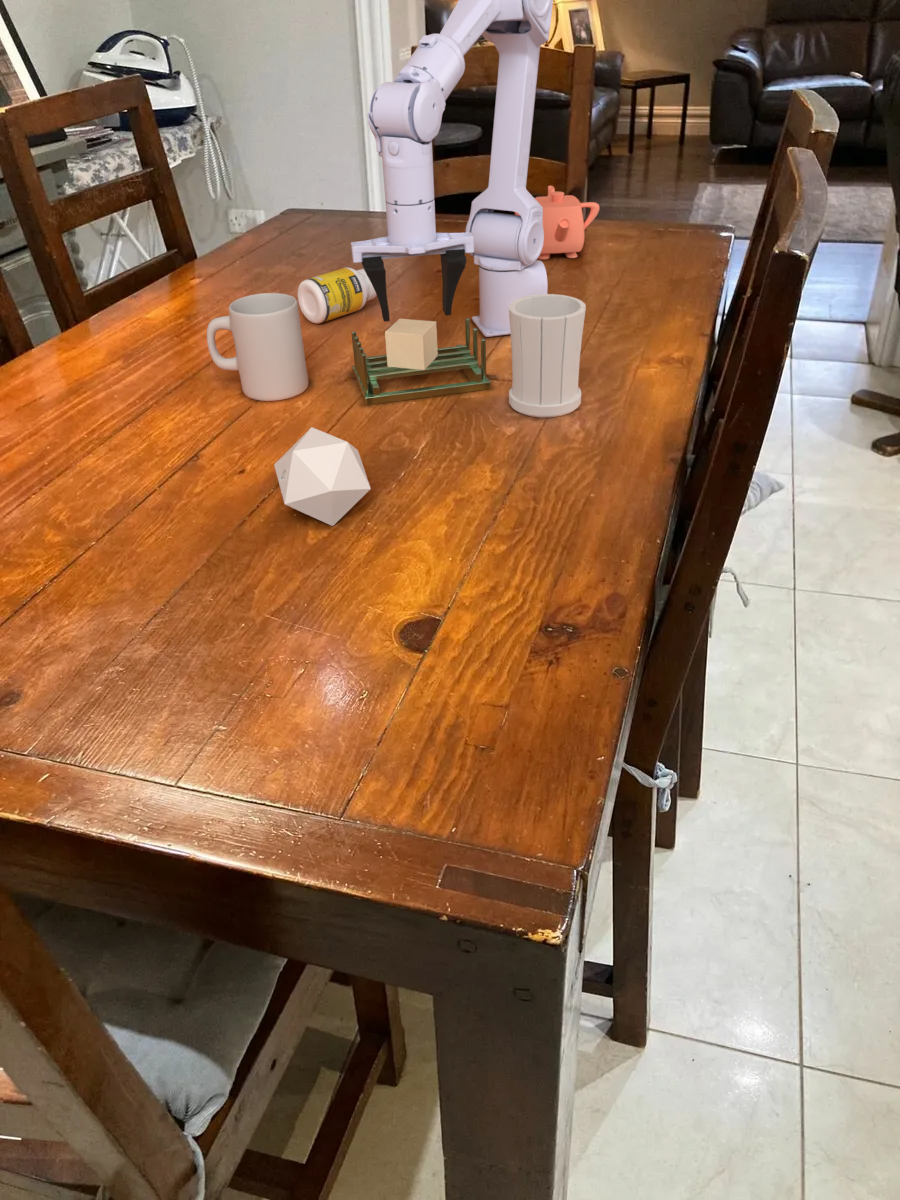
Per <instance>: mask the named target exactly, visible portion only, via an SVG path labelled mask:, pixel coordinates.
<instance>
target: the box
mask: <svg viewBox="0 0 900 1200" xmlns="http://www.w3.org/2000/svg"><path fill="white" fill-rule="evenodd" d="M437 329H438V327H437V321H436V320H435V321H434V320H422V319H411V318H410V319H409V318H398V319H397V320H396V321H395V322H394V323H393V324H391V326H390V327H388V329H386V330H385V331H384V338H385V339H384V340H385V351H386V355H387V365H388V367H397V368H407V369H410V370H411V369H417V370H425V369H426V368H427V367H428V366H429V365H430V364H431V363H432V362H433V360H434V359H435V358H436V357H437V356H438V350H437V348H438V331H437Z"/></svg>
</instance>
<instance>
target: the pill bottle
mask: <svg viewBox="0 0 900 1200" xmlns="http://www.w3.org/2000/svg"><path fill="white" fill-rule="evenodd" d="M376 297H377V294H376V292H375V290H374V288H373V286H372V284H371V282H370V280H369V278H368V276H367V274H366V272H365V270H364V268H361V269H360V268H359V269H357V270H356V269H354V268H352V267H343V268H339V269H335V270H333V271H329V272H326V273H322V274H319V275H316V276H312V277H310V278H307V279H304V280H302V281H301V282H300V284H299V286H298V288H297V303H298V307H299V308H300V311H301V313H302V315H303V316H304V317H305V319H307V320H308V321H309V322H310V323H312V324H319V325H320V324H323V323H326V322H329V321H331V320H332V321H333V320H334V319H337V318H340V317H344V316H346V315H349V314H352V313H355V312H359V311H360V310H361V309H363V307H364V306H365V304H366V302H369V301H371V300H374V299H375V298H376Z"/></svg>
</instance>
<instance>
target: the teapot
mask: <svg viewBox="0 0 900 1200" xmlns="http://www.w3.org/2000/svg"><path fill="white" fill-rule="evenodd" d="M534 198H535V199H536V200H537V201H538V202H539V204H540V205H541V206H542V207H543V229H544V243H543V248H542V251H541V253H540V255H539V257H538V258H537V259H538V260H548V259H550V258H551V254H565V257H566V258H568V259H575V258H578V253H579V252H581V251H582V249H583V247H584V244H585V230H586V229H587V228H588V227H589V226H590V224H591V223H592V222H593V221H594V220H595V218H597V216H598V215H599V212H600V204H599V203H597V202H594V201H586V202H581V201H580V200H579V198H577V197H576V196H575V195H570V194H566V195H565V192H563V191H556V190H555V187H554V186H553V185H548V186H547V196H536V197H534ZM584 208H585V209H586V208H587V209H590V210H589V211H590V212H589V214H588V215H587V218H586V219H585V221H584V214H583V209H584ZM514 215H519V214H518V213H517V212H514ZM519 216H520V215H519Z"/></svg>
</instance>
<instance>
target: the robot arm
mask: <svg viewBox="0 0 900 1200" xmlns="http://www.w3.org/2000/svg"><path fill="white" fill-rule="evenodd" d="M553 6H554V0H458V1H457V2H456V4H455V6H454V7H453V9H452V12H451V13H450V15H449V17H448V18H447V20H446V22H445V24H444V25H443V27H442V29H441V30H440V33H431V34H428V35H427V34H426V35H425V34H424V35H423V36H422V37H421V38H420V39H419V41H418V43H419V44H418V46H417V47H416V48H415V50H414V52H413V53H412V54H411V55H410V57H409V58H408V59H407V61H406V62H405V64H404V65H403V67H402V68H401V69H400V71H399V72H398V73H397V75H396V76H395V78H394V79H393V80H392V81H387V82H386V81H385V82H383V83H381V84H380V85H379V87H377V88H375V90H374V91H373V93H372V95H371V98H370V102H369V107H368V108H369V109H368V113H367V122H368V126H369V130H370V131H371V133H372V135H373V137H374V139H375V145H376V152H377V153H378V156H379V157H380V158H381V159H382V162H381V163H382V172H383V173H382V175H383V188H384V202H385V203H384V204H385V213H386V215H385V217H386V230H387V236H383V237H377V238H372V239H367V240H360V241H351V242H350V250H351V259H352V262H353V264H360V263H361V264H362V269H364V270H365V272H366V274H367V276H368V278H369V280H370V282H371V284H372V286H373V288H374V290H375V292H376V294H377V295H376V297H377V299H378V302H379V307H380V312H381V317H382V320H383V322H390V321H391V319H390V310H389V304H388V303H389V302H388V295H387V275H386V274H387V272H386V267H385V263H384V260H385V259H386V260H388V259H397V258H398V259H399V258H409V257H421V256H422V257H423V256H432V255H439V256H440V257H439V258H440V265H441V266H440V267H441V279H442V297H441V298H442V299H441V303H442V311H443V313H444V315H445V316H452V309H453V302H454V299H455V295H456V291H457V287H458V284H459V282H460V279H461V277H462V275H463V273H464V270H465V268H466V266H467V262H468V261H467V256H466V254H468V255H469V256H470V257H471V258H473V265H477V266H478V296H479V298H478V299H479V304H478V305H479V315H474V316H472V317H471V321H473V323H474V325H475V326H476V328H477V329H478V330H479V331H480V332H481V333H482V335H483V336H484V337H486V338H490V337H498V336H499V337H500V336H506V335H511V332H510V320H509V305H510V304H511V303H512V302H513V301H514V300H517V299H519V298H522V297H526V296H530V295H539V294H549V293H548V290H549V289H548V287H549V285H548V282H549V281H548V275H547V268H546V266H545V264H544V262H543V261H542V260H540V259H539V258H538V257H539V255H540V253H541V251H542V248H543V243H544V229H543V207H542V206H541V205H540V204H539V202H538V201H537V200H536V199H535V198H536V197H534V196H533V195H532V194H531V193H530V192H529V190H528V189H527V183H528V182H527V180H528V171H529V162H530V154H531V153H530V152H531V142H532V132H533V123H534V113H535V102H536V94H537V93H536V91H537V81H538V72H539V65H540V64H539V63H540V53H541V46H542V45H544V44H546V42H548V41H549V38H550V29H551V26H552V25H551V23H552V13H553ZM481 36H482V37H483V38H484V40H485V41H487V42H489V43H491V44H493V45H494V47H495V49H496V50H497V53H498V56H499V57H498V67H497V69H498V70H497V79H496V80H497V81H496V92H495V93H496V95H495V105H494V115H493V116H494V117H493V128H492V138H491V151H490V162H489V163H490V164H489V176H488V185H487V188H486V189H485V190H483V191H482V192H481V193H480V194H478V195H477V196H476V197H475V198H474V199H473V200H472V201H471V206H470V212H469V217H468V220H467V223H466V226H465V230H464V232H437V227H436V206H435V205H436V203H435V179H434V159H433V158H434V157H433V155H434V154H433V140H434V139H435V137H437V136H438V135H439V132H440V129H441V125H442V118H443V113H444V111H445V110H446V105H447V104H446V101H447V99H448V98H449V96H450V95H451V93H452V92H453V91H454V89H455V87H456V86H457V85H458V83H459V81H460V80H461V78H462V77H463V75H464V73H465V70H466V61H465V57H464V56H465V55H466V54H467V53H468V52H469V51H470V50H471V48H472V47H473V46H474V45H475V43H476V42H477V41H478V40H479V38H480V37H481ZM495 210H496V211H508V212H514V213H515V212H517V213H518V214H519V215H520V216H519V215H515V214H509V213H501V212H494V211H495Z"/></svg>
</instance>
